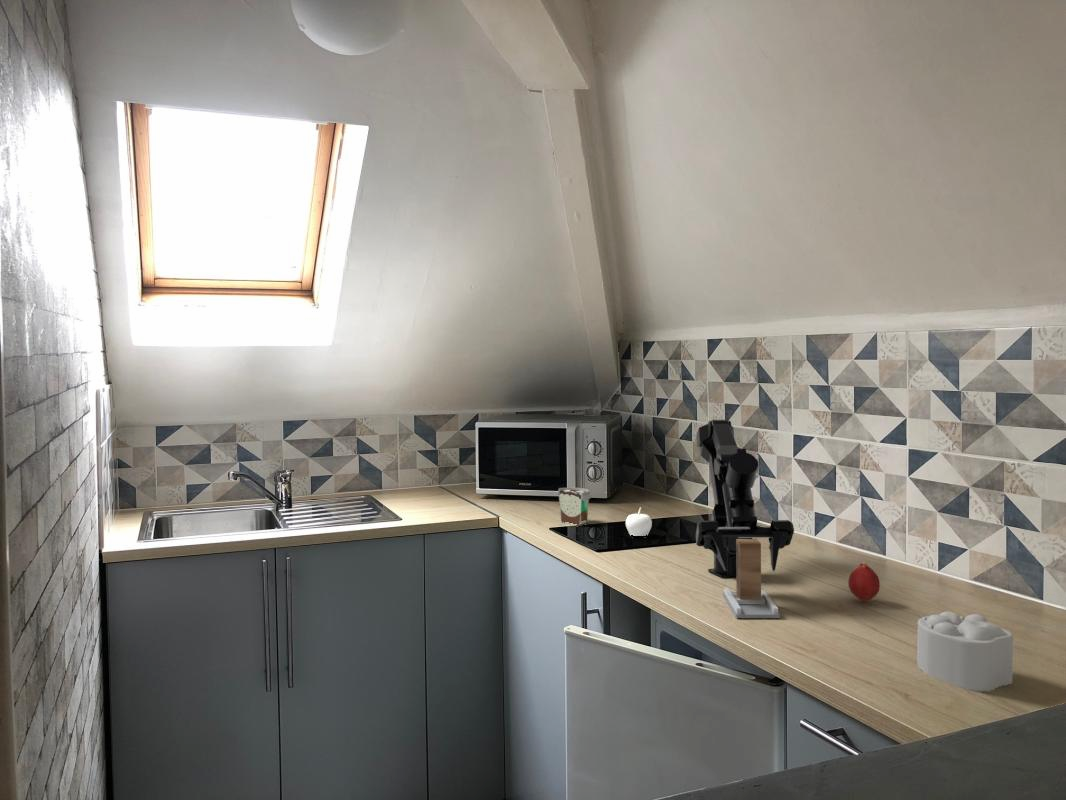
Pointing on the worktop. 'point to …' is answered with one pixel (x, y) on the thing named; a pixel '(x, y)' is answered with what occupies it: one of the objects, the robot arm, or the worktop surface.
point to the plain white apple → (638, 524)
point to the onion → (864, 583)
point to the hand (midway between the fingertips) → (750, 570)
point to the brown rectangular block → (748, 572)
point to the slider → (751, 607)
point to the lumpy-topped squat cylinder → (965, 651)
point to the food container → (574, 505)
